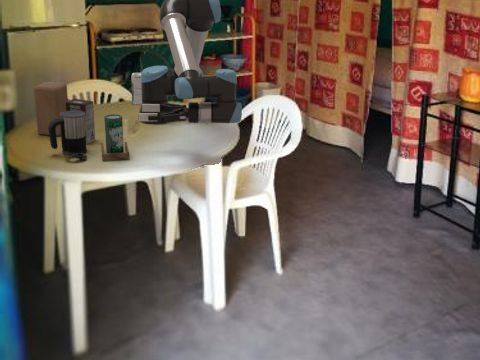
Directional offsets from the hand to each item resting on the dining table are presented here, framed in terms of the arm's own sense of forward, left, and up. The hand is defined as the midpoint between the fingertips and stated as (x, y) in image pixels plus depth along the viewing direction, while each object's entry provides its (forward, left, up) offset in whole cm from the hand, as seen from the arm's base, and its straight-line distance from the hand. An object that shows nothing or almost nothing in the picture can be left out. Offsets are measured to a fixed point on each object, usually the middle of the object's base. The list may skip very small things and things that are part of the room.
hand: (140, 112), depth 223 cm
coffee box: (+22, -22, -17) cm, 35 cm away
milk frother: (+24, -5, -17) cm, 30 cm away
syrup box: (-5, -78, -17) cm, 80 cm away
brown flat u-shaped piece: (+10, -3, -17) cm, 20 cm away
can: (+10, -2, -17) cm, 20 cm away
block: (+33, -35, -17) cm, 51 cm away
